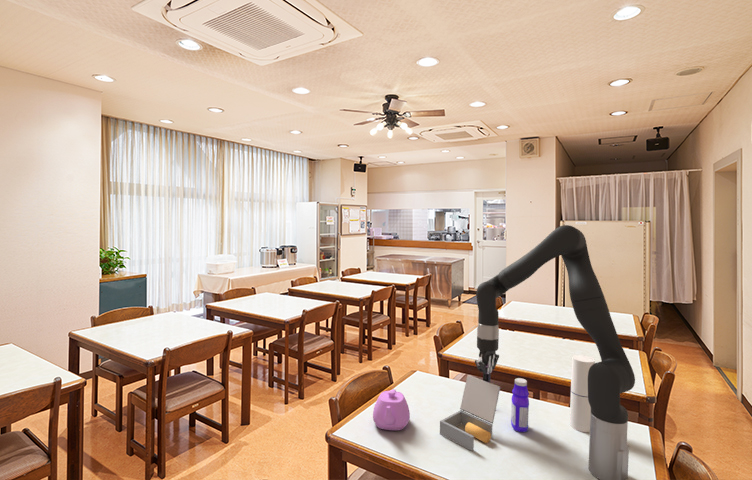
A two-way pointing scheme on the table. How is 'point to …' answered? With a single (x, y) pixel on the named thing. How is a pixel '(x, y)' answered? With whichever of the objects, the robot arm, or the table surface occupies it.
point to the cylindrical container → (580, 393)
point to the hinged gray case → (459, 435)
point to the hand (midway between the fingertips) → (486, 382)
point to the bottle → (520, 406)
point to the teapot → (391, 411)
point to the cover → (480, 398)
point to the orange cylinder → (478, 432)
